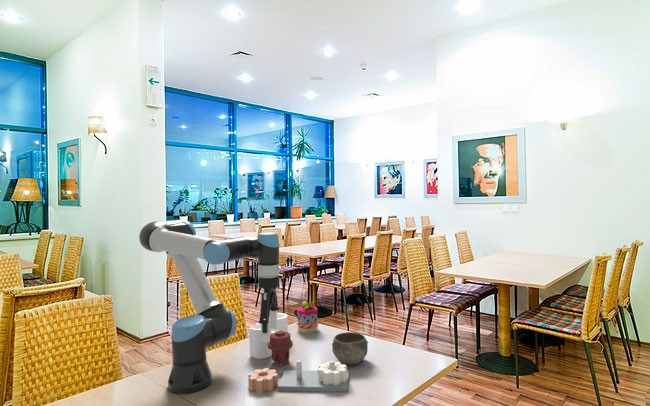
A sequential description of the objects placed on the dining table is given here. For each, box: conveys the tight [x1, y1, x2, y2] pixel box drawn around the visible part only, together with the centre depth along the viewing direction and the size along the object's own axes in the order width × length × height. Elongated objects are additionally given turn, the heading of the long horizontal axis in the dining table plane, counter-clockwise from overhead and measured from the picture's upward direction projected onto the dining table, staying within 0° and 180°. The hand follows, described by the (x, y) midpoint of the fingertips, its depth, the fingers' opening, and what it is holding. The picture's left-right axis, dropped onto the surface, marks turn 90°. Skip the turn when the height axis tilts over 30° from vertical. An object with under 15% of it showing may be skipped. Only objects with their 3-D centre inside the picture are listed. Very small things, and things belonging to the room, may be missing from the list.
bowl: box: [331, 331, 369, 366], centre depth 162 cm, size 14×15×10 cm
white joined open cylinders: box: [248, 312, 289, 360], centre depth 179 cm, size 25×10×12 cm, turn 162°
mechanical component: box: [268, 331, 294, 367], centre depth 163 cm, size 12×10×10 cm
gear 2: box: [317, 361, 348, 385], centre depth 143 cm, size 10×10×4 cm
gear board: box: [277, 360, 350, 393], centre depth 144 cm, size 24×13×8 cm, turn 84°
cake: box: [296, 300, 319, 334], centre depth 202 cm, size 10×11×15 cm
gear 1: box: [247, 367, 279, 393], centre depth 143 cm, size 10×10×4 cm
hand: (269, 334), depth 145 cm, fingers open, 13 cm apart
